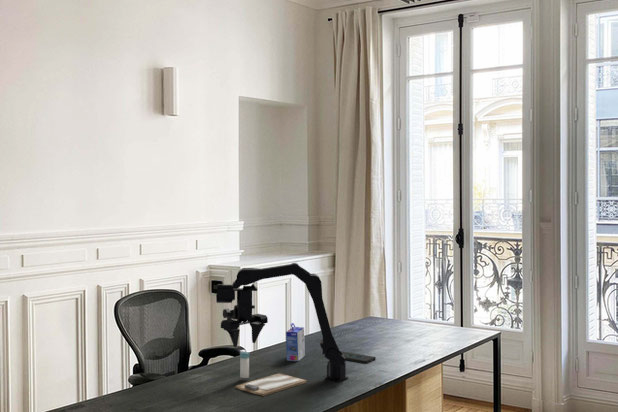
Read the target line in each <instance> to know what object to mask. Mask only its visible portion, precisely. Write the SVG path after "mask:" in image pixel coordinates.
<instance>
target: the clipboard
mask: <svg viewBox="0 0 618 412" xmlns="http://www.w3.org/2000/svg"><path fill="white" fill-rule="evenodd" d="M306 383H307V379H303V378H299V377H295V376H291V375H287V374H284V373H276V374H272V375H268V376H265V377H261V378H258V379H255V380H252V381H246V382H244V383H240V384H237V385H235V389H238V390H241V391H245V392H248V393H251V394H255V395H258V396H261V397H265V396H267V395H271V394H272V395H273V394H275V393H277V392H281V391H284V390H287V389H291V388H293V387H297V386H301V385H304V384H306Z"/></svg>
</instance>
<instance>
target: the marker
mask: <svg viewBox="0 0 618 412" xmlns="http://www.w3.org/2000/svg"><path fill="white" fill-rule="evenodd" d="M239 357H240V359H239V360H240V361H239V362H240V363H239V366H240V367H239V370H240V371H239V373H240V375H239V376H240V381H241V382H249V377H250V352H248V351H242V352H239Z"/></svg>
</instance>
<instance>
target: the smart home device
mask: <svg viewBox="0 0 618 412" xmlns="http://www.w3.org/2000/svg"><path fill="white" fill-rule="evenodd" d="M340 351H341V350H340ZM341 352H342V353H343V355H344V357H345V361H349V362H355V363H360V364H365V365H366V364H369V363H372V362H374V361H376V360H377V359H376V356H373V355H366V354H360V353H353V352H348V351H347V352H346V351H341Z"/></svg>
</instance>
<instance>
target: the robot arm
mask: <svg viewBox="0 0 618 412" xmlns="http://www.w3.org/2000/svg"><path fill="white" fill-rule="evenodd" d="M292 275H293V276H295V277H296V278H298V280H300V281H301V282H302V283H304V284H305V286H306V288H307V291H308V294H309V296H310V297H311V299H312V302H313V306H314V310H315V314H316V317H317V321H318V326H319V327H320V332H321V339H319V340H318V342H319V345H320V352H321V354H322V355H323V356H324V357H325V358H326V360H327V365H326V376H325V377H324V380H329V381H333V382H336V383H339V382H341V381H344V380H347V379H349V377H348V376H346V375H347V374H346V373H347V372H346V371H347V369H346V368H347V365H346V360H345V357H344V355H343V353H342V352H343V351H342V352H341V350H340V348H339V346H338V344H337V342H336V339H335V337H334V334H333V333H332V330H331V325H330V322H329V317H328V314H327V311H326V306H325V302H324V300H323V286H322V280H321V278H320V276H319V275H318V274H316V273H311V272H309V271H307V270H306V269H305V268H303V267H302V266H300V265H299V264H298V263H297V262H292V263H287V264H282V265H274V266H270V267H269V266H268V267H263V268H257V267H242V268H241V269H239V270H238V272H237V274H236V279H235V280H234V281H232V283H231V284H222V283H218V284H217V285H216V286H217V287H216V294H215V295H216V298H215V300H216V304H233V302H234V301H236V304H235V305H234V306H233V309H231V310H230V308H224V309H222V317H223V320H222V321H220V329H223V330H224V331H226V332H227V333H228V335H229V336H230V339H231V343H232V345H233V347H234V348H237V347H238V343H239V337H240V329H239V328H240V326H242V325H247V324H249V325H250V329H251V340H252V341H251V342H252V343H253V344H255V343H256V342H257V340H258V338H259V336H260V333H261V332H262V330H263V329H264V326H266V324H267V323H268V321H269V320H268V319H269V318H268V316H267V315H266V314H261V313H255V314H253V309H254V310H255V309H256V308H255V307H256V306H255V305H254V304H253V292H257V291H258V289H259V288H258V287H257V286H256V285H255V284H254V283H257V282H259V281H262V280H266V279H272V278H279V277H284V276H285V277H286V276H292Z"/></svg>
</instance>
